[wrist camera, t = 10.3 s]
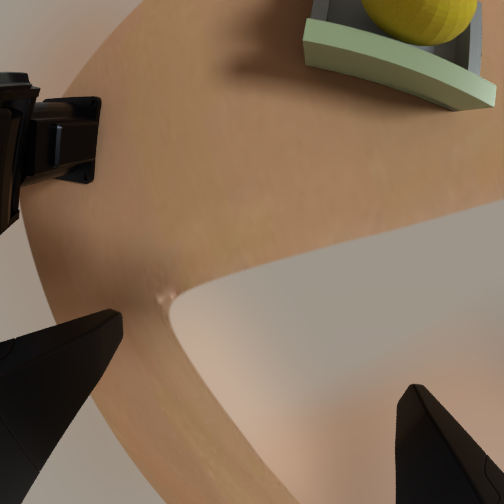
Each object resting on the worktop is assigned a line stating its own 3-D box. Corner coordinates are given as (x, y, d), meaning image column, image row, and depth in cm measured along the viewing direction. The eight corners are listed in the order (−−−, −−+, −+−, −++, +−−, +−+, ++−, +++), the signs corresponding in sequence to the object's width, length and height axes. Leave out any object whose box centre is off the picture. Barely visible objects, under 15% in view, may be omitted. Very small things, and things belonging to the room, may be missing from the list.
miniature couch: (305, 65, 15) (302, 40, 11) (322, -30, 13) (323, -72, 8) (453, 111, 14) (494, 107, 10) (462, 15, 12) (495, -9, 7)
